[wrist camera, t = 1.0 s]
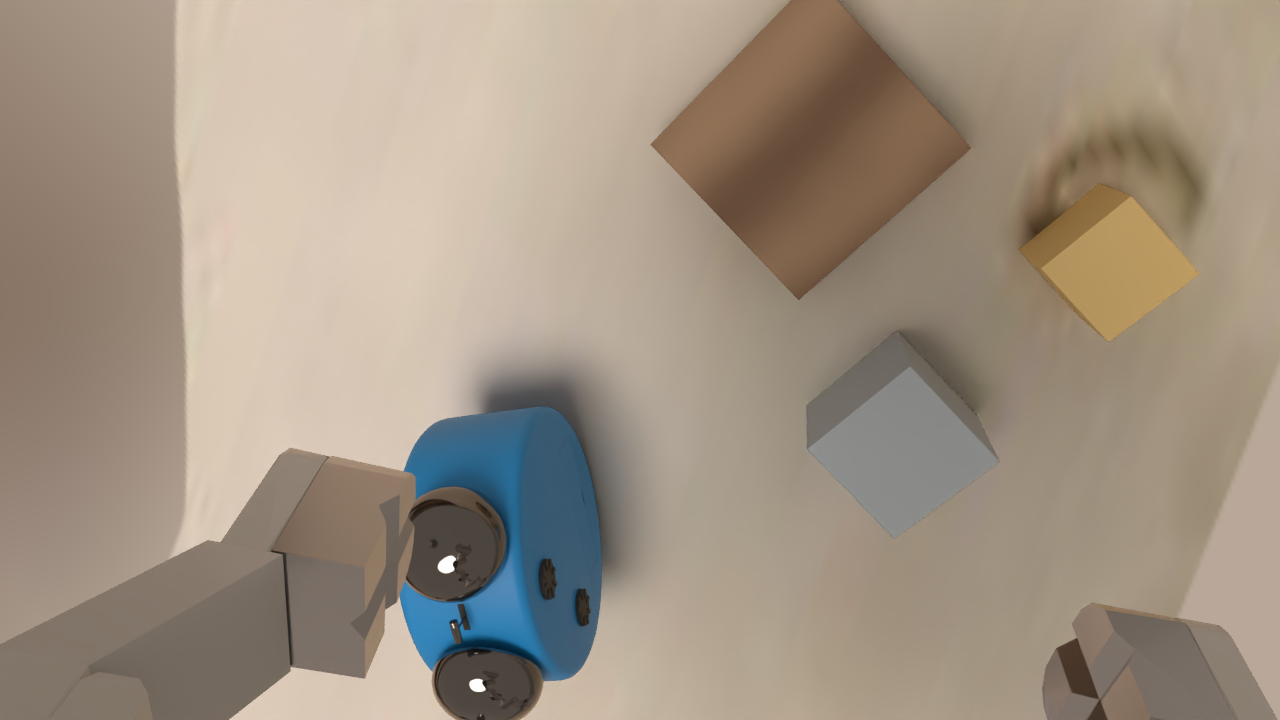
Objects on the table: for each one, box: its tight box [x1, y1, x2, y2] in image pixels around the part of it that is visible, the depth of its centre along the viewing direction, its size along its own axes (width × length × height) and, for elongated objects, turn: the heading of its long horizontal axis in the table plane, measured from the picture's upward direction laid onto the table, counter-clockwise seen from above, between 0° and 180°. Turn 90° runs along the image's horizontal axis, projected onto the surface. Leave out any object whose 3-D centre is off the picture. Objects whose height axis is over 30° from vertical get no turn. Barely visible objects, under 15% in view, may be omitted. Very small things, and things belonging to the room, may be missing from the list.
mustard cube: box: [1019, 184, 1200, 342], centre depth 42 cm, size 4×4×4 cm
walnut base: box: [651, 0, 971, 300], centre depth 43 cm, size 10×10×3 cm
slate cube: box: [806, 331, 1000, 539], centre depth 45 cm, size 6×6×6 cm
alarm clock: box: [400, 406, 602, 720], centre depth 45 cm, size 13×6×15 cm, turn 12°
